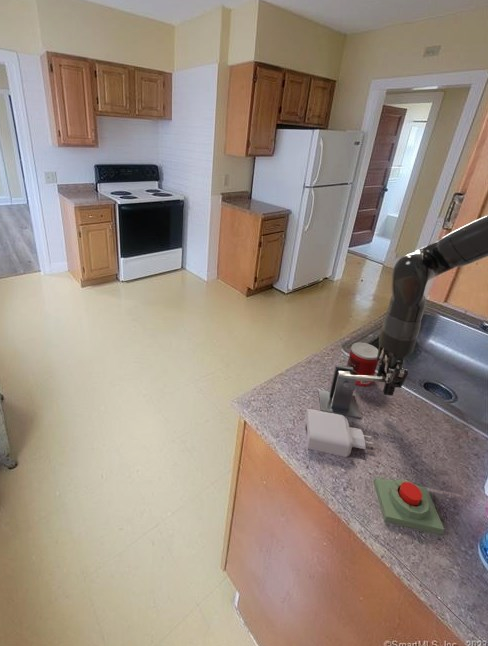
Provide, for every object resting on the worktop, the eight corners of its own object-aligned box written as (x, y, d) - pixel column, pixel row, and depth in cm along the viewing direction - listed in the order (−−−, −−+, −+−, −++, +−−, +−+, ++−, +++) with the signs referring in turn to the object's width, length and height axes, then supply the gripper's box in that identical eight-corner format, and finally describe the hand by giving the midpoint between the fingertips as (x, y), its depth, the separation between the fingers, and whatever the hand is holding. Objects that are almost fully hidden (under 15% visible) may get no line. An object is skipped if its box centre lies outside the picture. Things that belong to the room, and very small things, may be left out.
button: (415, 489, 65) (418, 483, 64) (422, 508, 62) (425, 502, 61) (396, 485, 66) (398, 479, 65) (402, 503, 62) (404, 497, 62)
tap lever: (385, 376, 86) (386, 369, 85) (391, 389, 81) (392, 382, 80) (337, 374, 88) (337, 367, 88) (340, 387, 84) (340, 379, 83)
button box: (424, 492, 67) (429, 481, 66) (441, 535, 60) (447, 523, 59) (373, 482, 69) (376, 470, 68) (384, 521, 62) (388, 510, 61)
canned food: (375, 379, 100) (384, 350, 95) (365, 392, 94) (374, 361, 90) (351, 367, 105) (357, 339, 100) (340, 379, 99) (347, 349, 95)
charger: (375, 465, 73) (306, 450, 76) (365, 432, 81) (304, 420, 84) (379, 450, 71) (309, 436, 74) (369, 418, 80) (307, 406, 83)
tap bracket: (353, 398, 92) (362, 365, 87) (360, 420, 85) (369, 385, 80) (317, 392, 94) (324, 359, 89) (320, 413, 86) (328, 378, 82)
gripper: (429, 350, 70) (410, 409, 77) (406, 317, 83) (391, 370, 90) (392, 345, 72) (376, 404, 78) (374, 314, 85) (362, 366, 91)
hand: (384, 386), depth 84 cm, fingers closed on tap lever, 5 cm apart
